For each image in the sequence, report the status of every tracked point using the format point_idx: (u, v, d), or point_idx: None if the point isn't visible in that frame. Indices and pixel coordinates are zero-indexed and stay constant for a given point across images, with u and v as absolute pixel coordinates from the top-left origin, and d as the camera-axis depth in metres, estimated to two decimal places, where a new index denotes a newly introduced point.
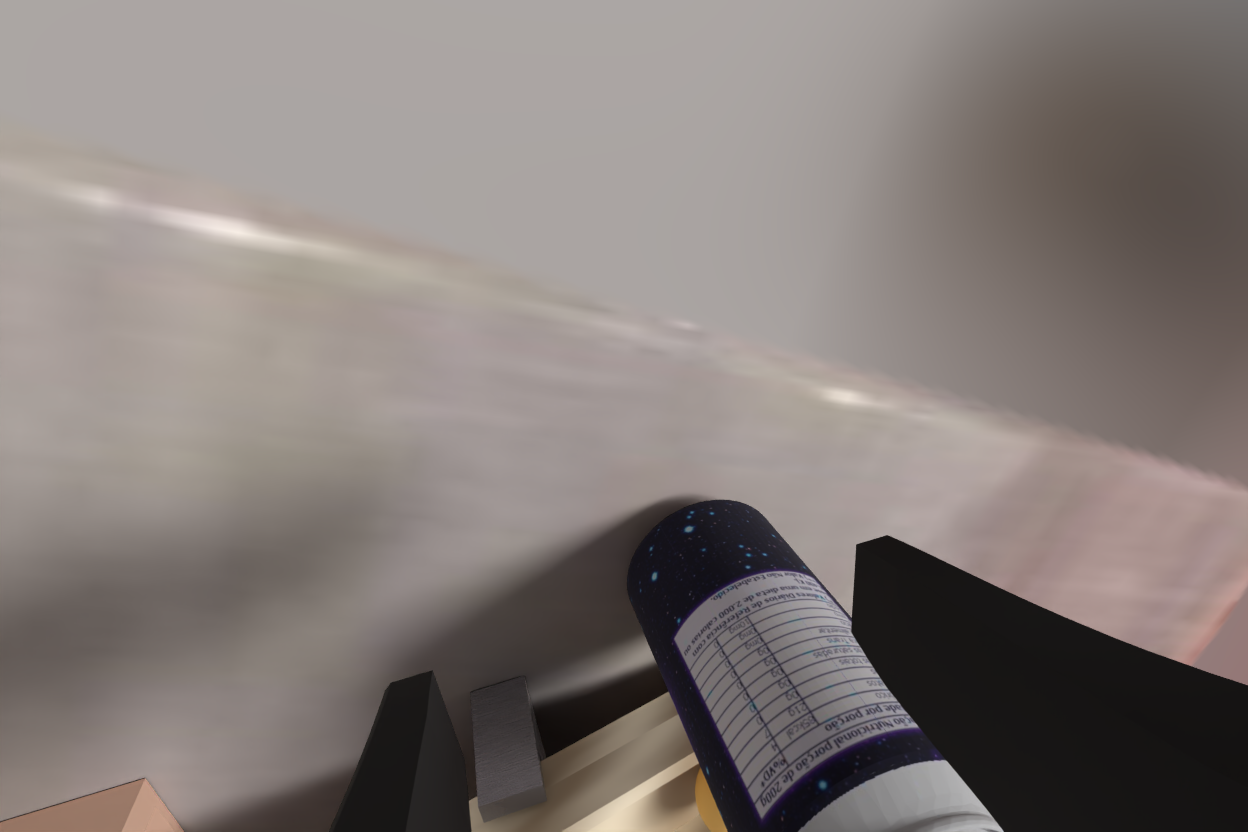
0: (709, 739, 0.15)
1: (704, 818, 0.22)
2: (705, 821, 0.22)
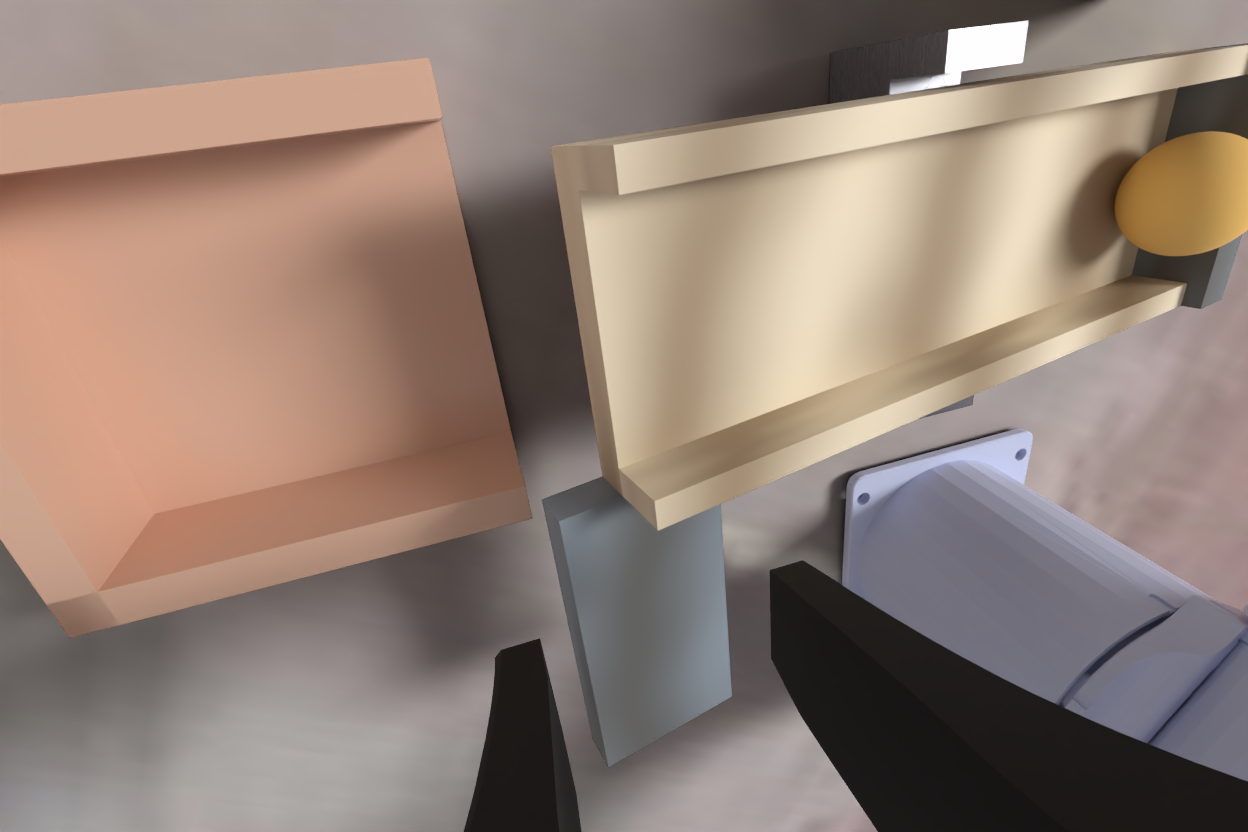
0: None
1: (1163, 201, 0.16)
2: (1163, 208, 0.16)
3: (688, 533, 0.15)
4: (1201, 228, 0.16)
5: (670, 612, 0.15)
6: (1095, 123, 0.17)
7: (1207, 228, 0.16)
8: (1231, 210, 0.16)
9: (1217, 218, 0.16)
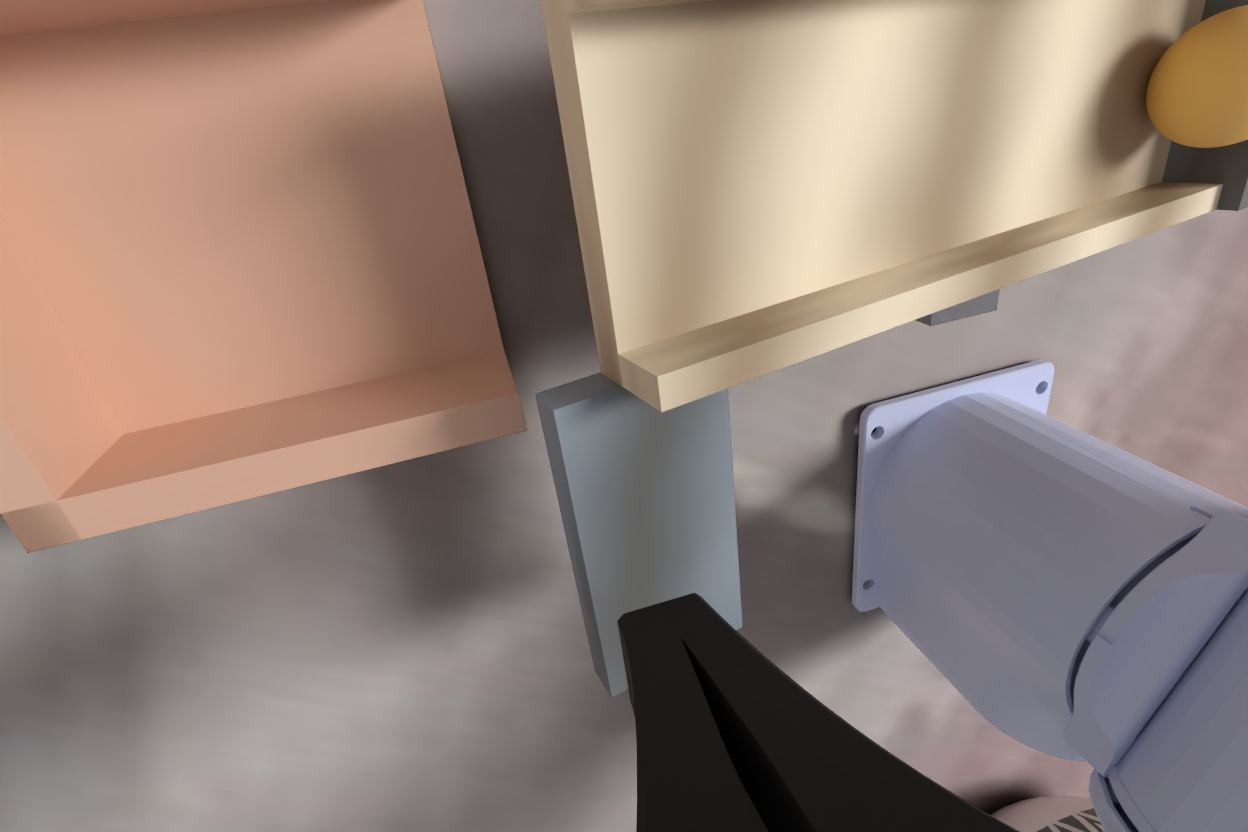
0: None
1: (1202, 80, 0.15)
2: (1201, 88, 0.15)
3: (694, 436, 0.14)
4: (1244, 107, 0.15)
5: (676, 526, 0.14)
6: None
7: None
8: None
9: None
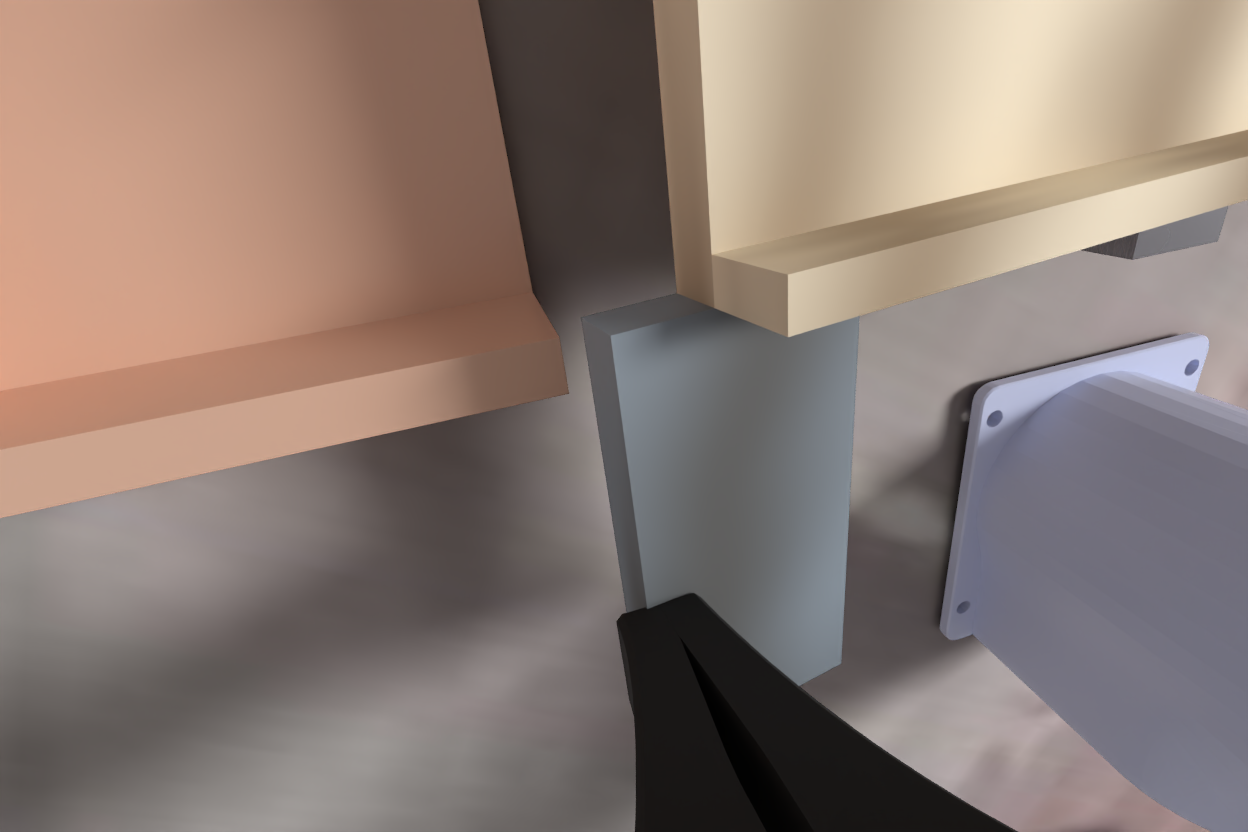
0: None
1: None
2: None
3: (807, 394, 0.09)
4: None
5: (770, 523, 0.10)
6: None
7: None
8: None
9: None
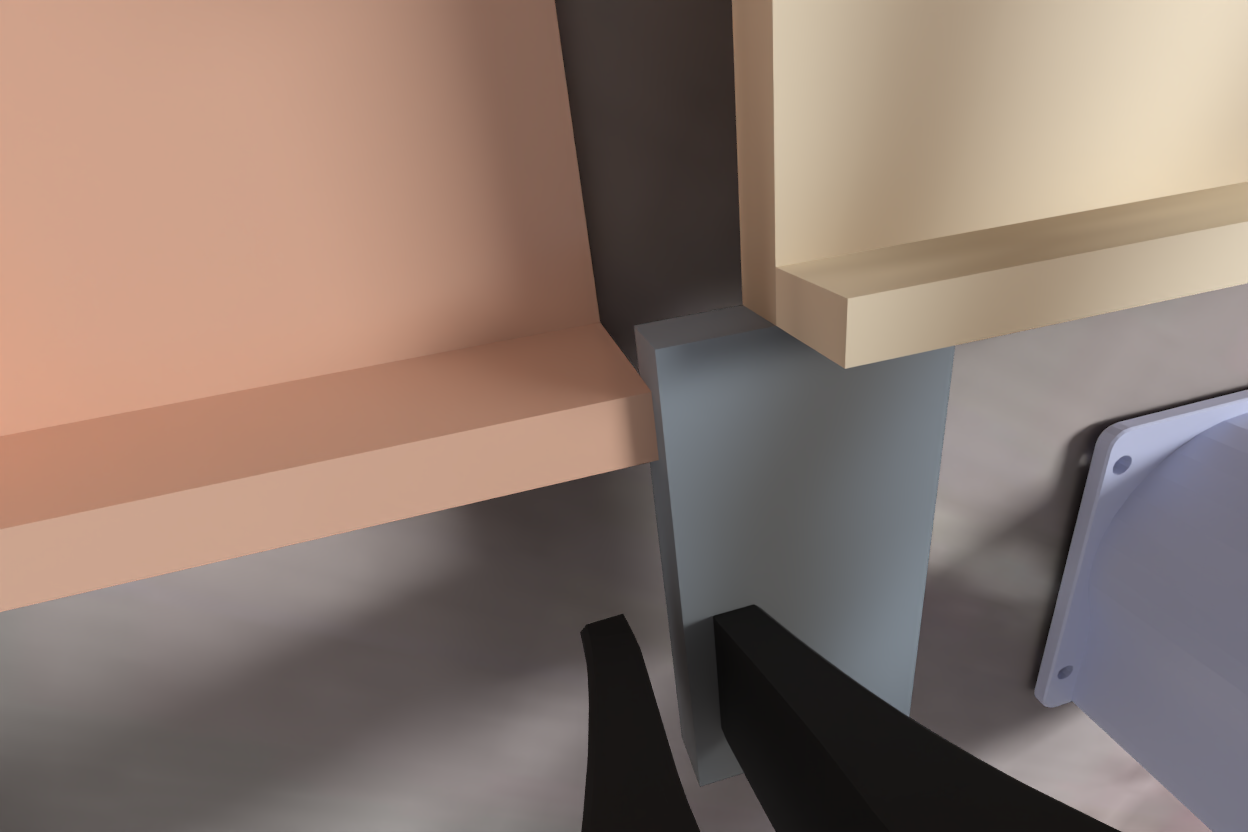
0: None
1: None
2: None
3: (884, 426, 0.08)
4: None
5: (831, 562, 0.09)
6: None
7: None
8: None
9: None
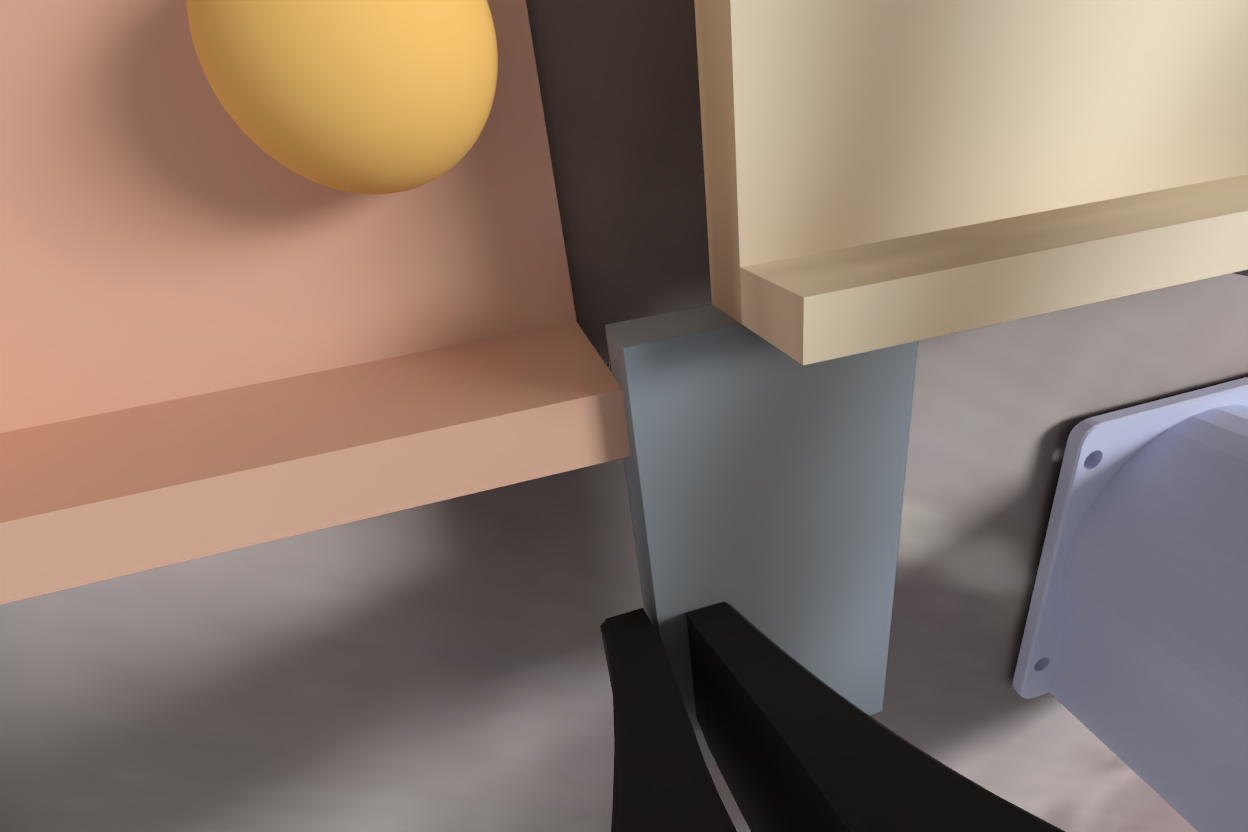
0: None
1: None
2: None
3: (850, 422, 0.09)
4: None
5: (802, 555, 0.09)
6: None
7: None
8: None
9: None
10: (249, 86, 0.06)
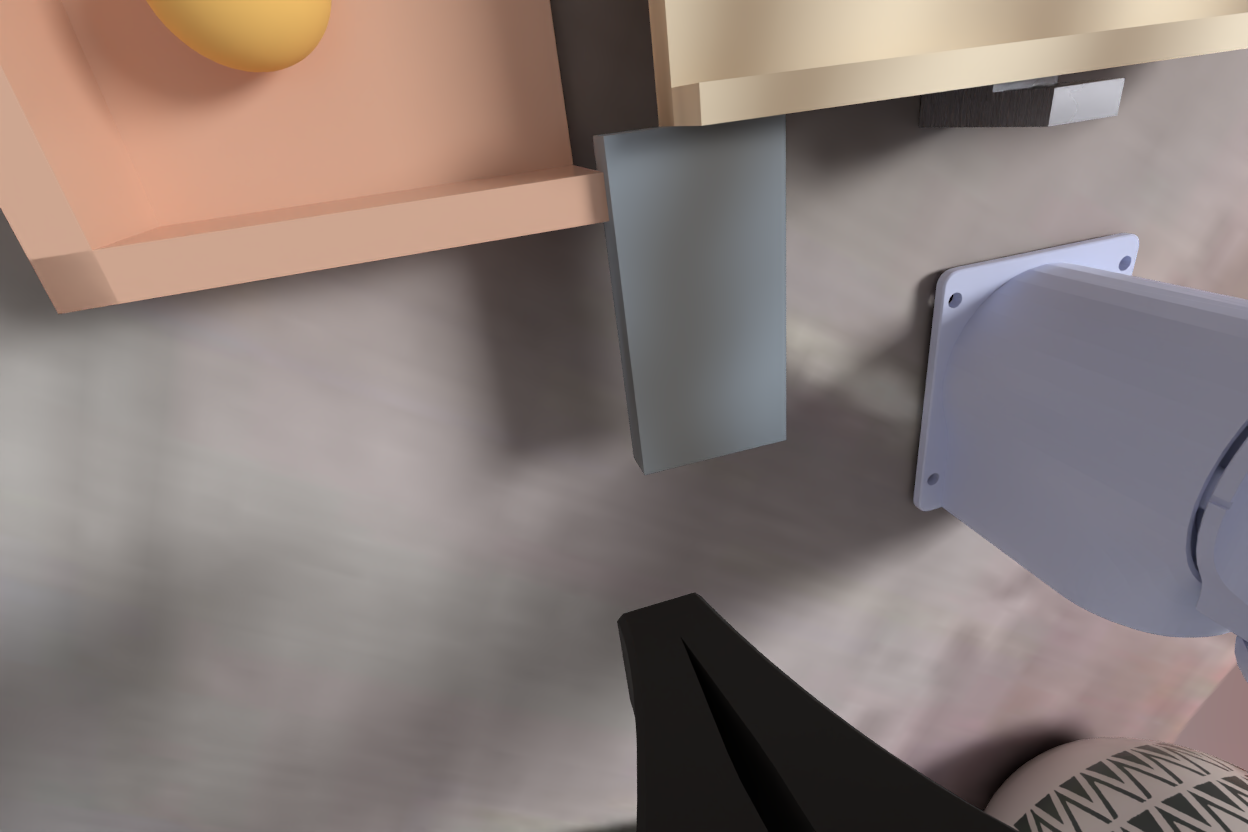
0: None
1: None
2: None
3: (746, 202, 0.14)
4: None
5: (721, 300, 0.15)
6: None
7: None
8: None
9: None
10: None
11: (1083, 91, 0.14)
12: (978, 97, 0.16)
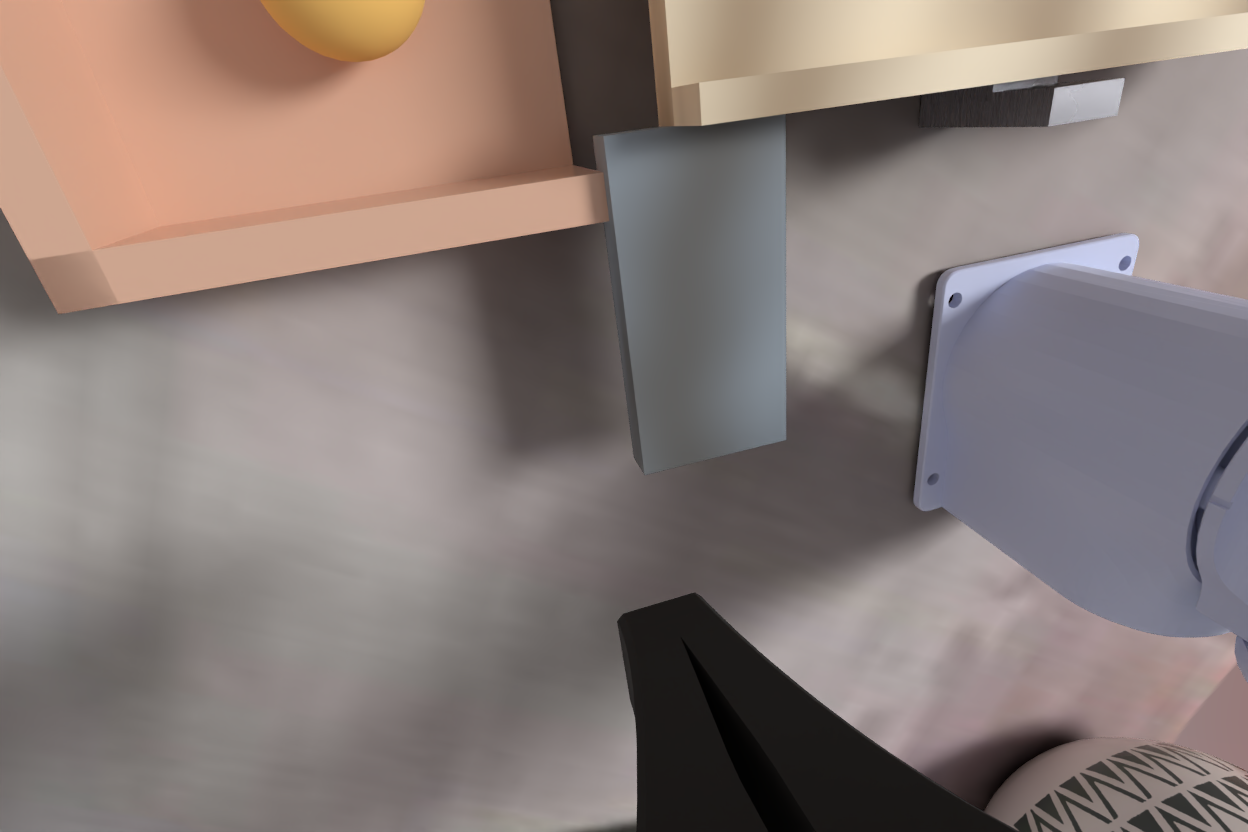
0: None
1: None
2: None
3: (746, 202, 0.14)
4: None
5: (721, 300, 0.15)
6: None
7: None
8: None
9: None
10: None
11: (1083, 91, 0.14)
12: (978, 97, 0.16)
